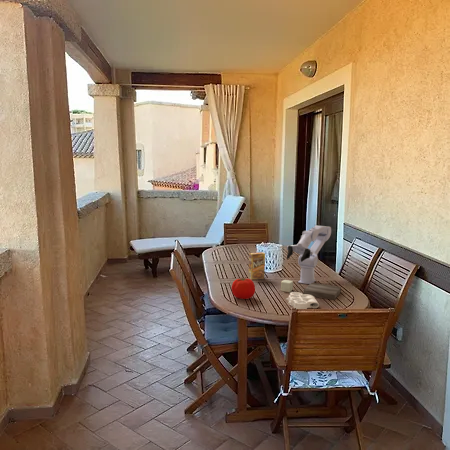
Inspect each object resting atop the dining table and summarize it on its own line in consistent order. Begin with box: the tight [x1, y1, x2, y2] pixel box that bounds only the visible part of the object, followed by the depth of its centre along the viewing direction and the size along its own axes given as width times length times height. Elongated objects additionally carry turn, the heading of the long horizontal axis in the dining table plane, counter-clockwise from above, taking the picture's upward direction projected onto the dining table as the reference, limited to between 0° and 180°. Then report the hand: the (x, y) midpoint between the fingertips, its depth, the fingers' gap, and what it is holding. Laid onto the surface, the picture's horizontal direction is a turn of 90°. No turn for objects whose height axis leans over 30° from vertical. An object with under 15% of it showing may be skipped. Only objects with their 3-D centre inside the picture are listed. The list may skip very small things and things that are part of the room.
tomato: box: [231, 276, 256, 300], centre depth 204 cm, size 12×12×10 cm
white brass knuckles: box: [285, 291, 320, 310], centre depth 198 cm, size 3×18×15 cm
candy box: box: [247, 251, 266, 281], centre depth 240 cm, size 9×4×15 cm, turn 115°
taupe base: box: [302, 282, 342, 301], centre depth 215 cm, size 16×16×2 cm
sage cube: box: [280, 279, 294, 293], centre depth 219 cm, size 5×5×5 cm
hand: (294, 258), depth 215 cm, fingers open, 7 cm apart
